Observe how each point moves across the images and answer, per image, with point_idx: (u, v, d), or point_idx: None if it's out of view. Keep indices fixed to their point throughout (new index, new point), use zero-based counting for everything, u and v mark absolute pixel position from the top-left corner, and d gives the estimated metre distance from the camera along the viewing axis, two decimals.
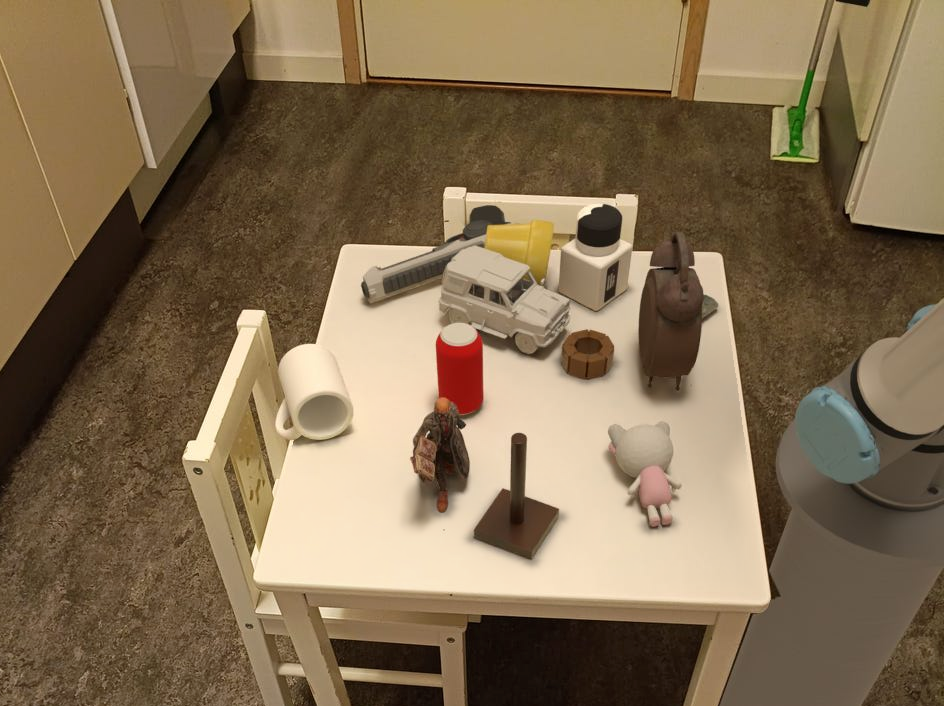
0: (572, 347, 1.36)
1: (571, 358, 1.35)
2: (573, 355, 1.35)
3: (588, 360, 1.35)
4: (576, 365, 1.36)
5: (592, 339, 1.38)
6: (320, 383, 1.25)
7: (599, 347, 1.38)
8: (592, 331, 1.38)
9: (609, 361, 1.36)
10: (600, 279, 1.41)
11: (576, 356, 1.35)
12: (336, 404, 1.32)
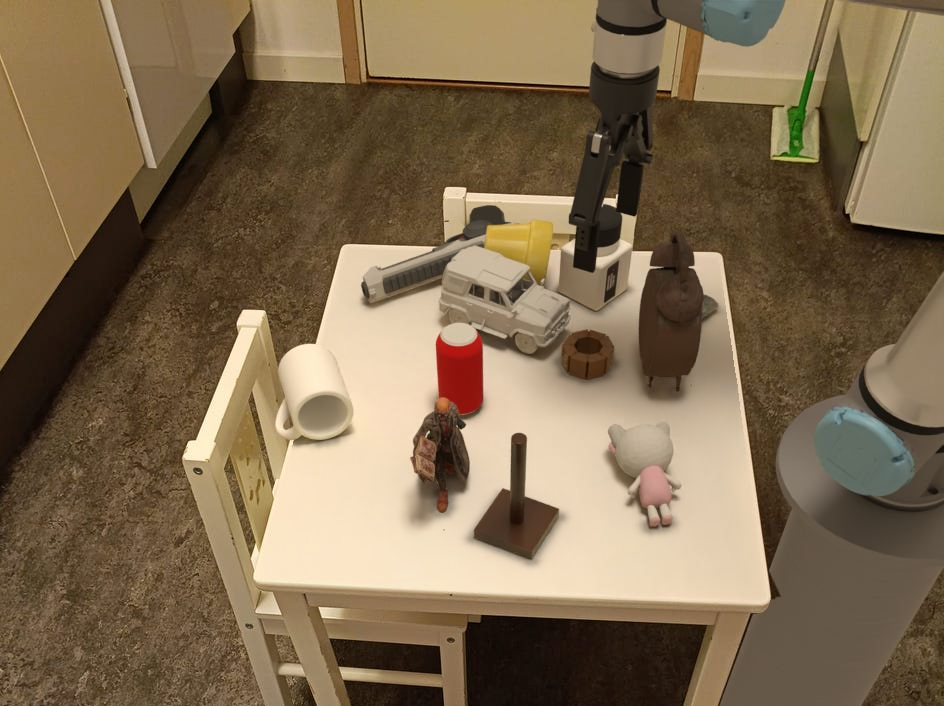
0: (572, 347, 1.36)
1: (571, 358, 1.35)
2: (573, 355, 1.35)
3: (588, 360, 1.35)
4: (576, 365, 1.36)
5: (592, 339, 1.38)
6: (320, 383, 1.25)
7: (599, 347, 1.38)
8: (592, 331, 1.38)
9: (609, 361, 1.36)
10: (600, 279, 1.41)
11: (576, 356, 1.35)
12: (336, 404, 1.32)
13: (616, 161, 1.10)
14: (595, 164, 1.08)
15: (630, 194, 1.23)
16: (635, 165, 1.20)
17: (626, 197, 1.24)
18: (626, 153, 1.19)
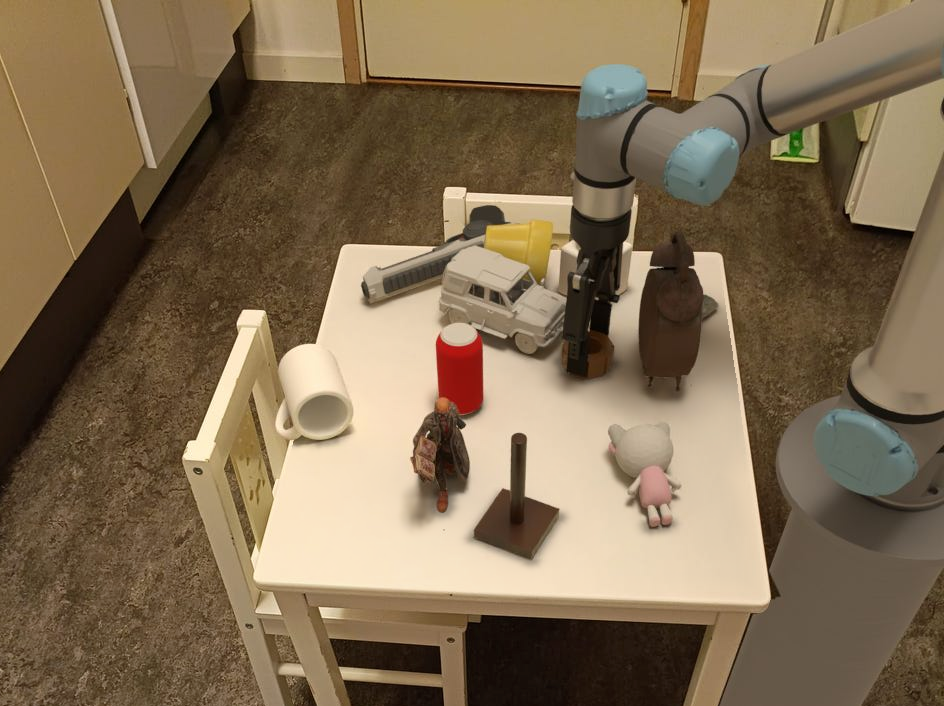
0: None
1: None
2: None
3: (588, 360, 1.35)
4: None
5: (592, 340, 1.38)
6: (320, 383, 1.25)
7: (599, 347, 1.38)
8: (592, 331, 1.38)
9: (609, 361, 1.36)
10: None
11: None
12: (336, 404, 1.32)
13: (597, 289, 1.25)
14: (578, 297, 1.23)
15: (600, 327, 1.37)
16: (604, 304, 1.34)
17: (597, 329, 1.38)
18: (597, 290, 1.33)
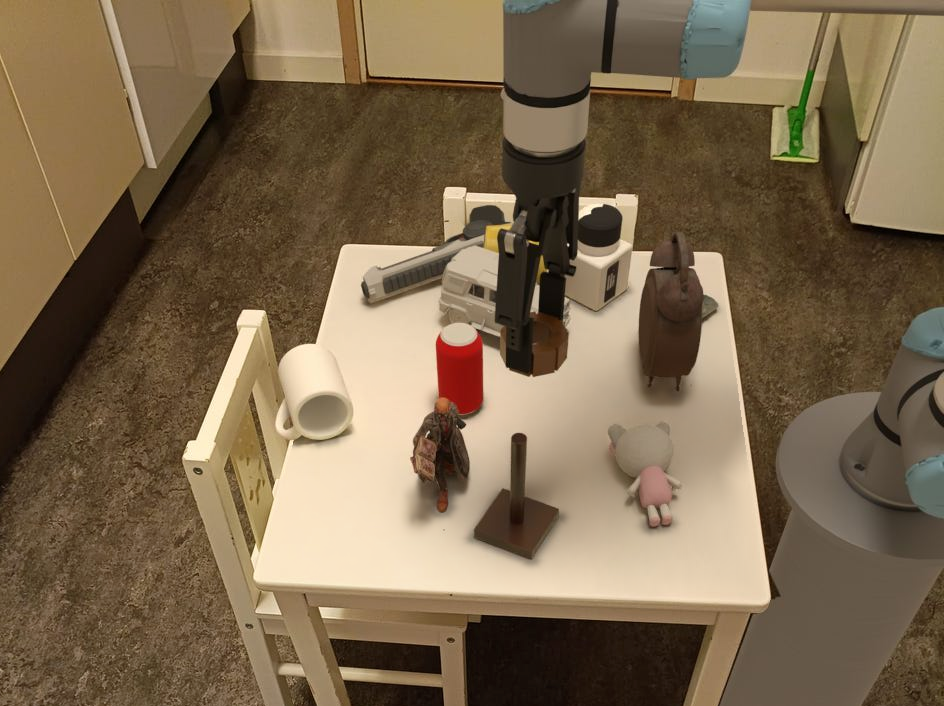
0: None
1: None
2: None
3: (533, 351, 1.02)
4: None
5: (541, 325, 1.05)
6: (320, 383, 1.25)
7: (550, 335, 1.05)
8: (541, 314, 1.05)
9: (562, 353, 1.03)
10: (600, 279, 1.41)
11: None
12: (336, 404, 1.32)
13: (540, 254, 0.92)
14: (513, 265, 0.90)
15: (552, 309, 1.04)
16: (556, 278, 1.01)
17: (548, 311, 1.05)
18: (546, 259, 1.00)
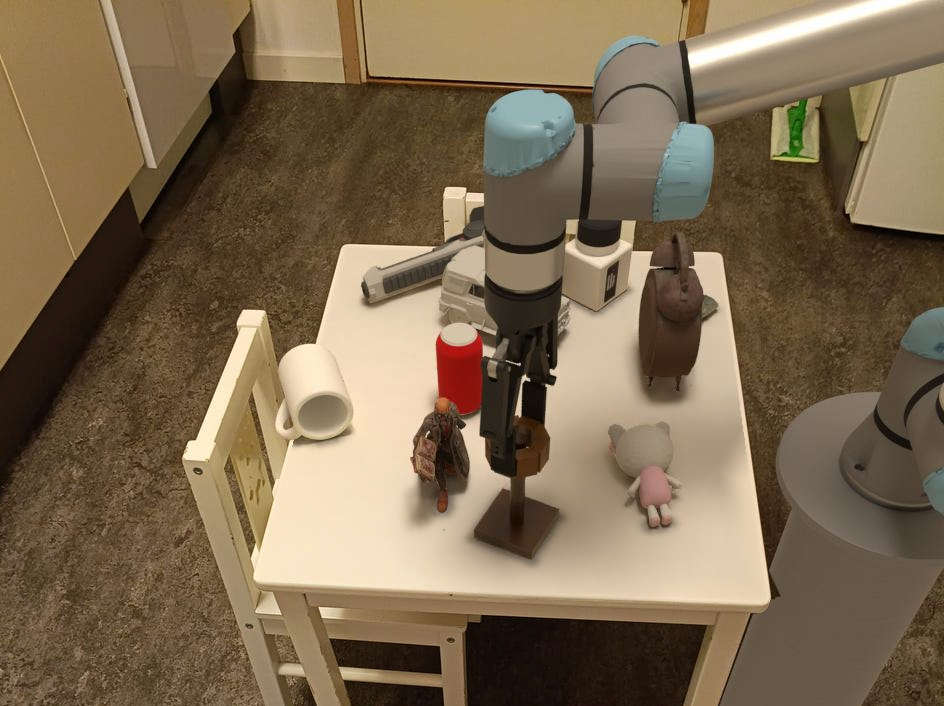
0: None
1: None
2: None
3: (516, 457, 1.07)
4: None
5: (523, 429, 1.10)
6: (320, 383, 1.25)
7: (532, 438, 1.10)
8: (524, 418, 1.10)
9: (544, 457, 1.09)
10: (600, 279, 1.41)
11: None
12: (336, 404, 1.32)
13: (522, 375, 0.97)
14: (496, 388, 0.95)
15: (534, 413, 1.10)
16: (537, 387, 1.07)
17: (531, 415, 1.10)
18: (527, 370, 1.06)
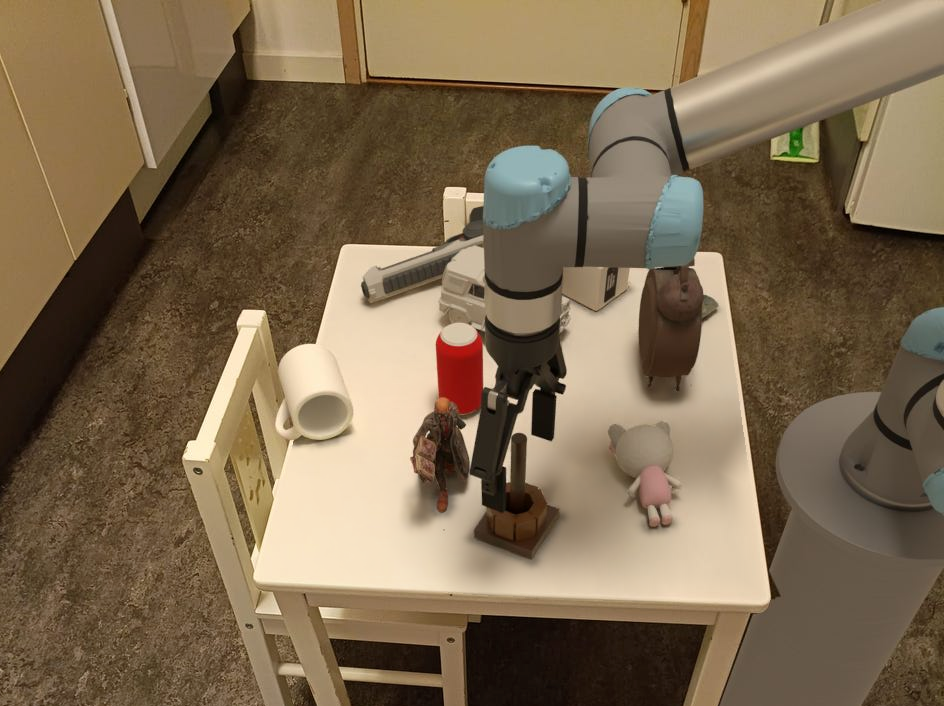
0: None
1: (496, 518, 1.16)
2: (499, 515, 1.16)
3: (515, 521, 1.15)
4: (502, 526, 1.16)
5: None
6: (320, 383, 1.25)
7: (530, 502, 1.18)
8: None
9: (541, 520, 1.17)
10: (600, 279, 1.41)
11: (502, 516, 1.16)
12: (336, 404, 1.32)
13: (518, 411, 1.00)
14: (493, 420, 0.98)
15: (544, 421, 1.14)
16: (547, 395, 1.11)
17: (541, 423, 1.14)
18: (536, 384, 1.10)
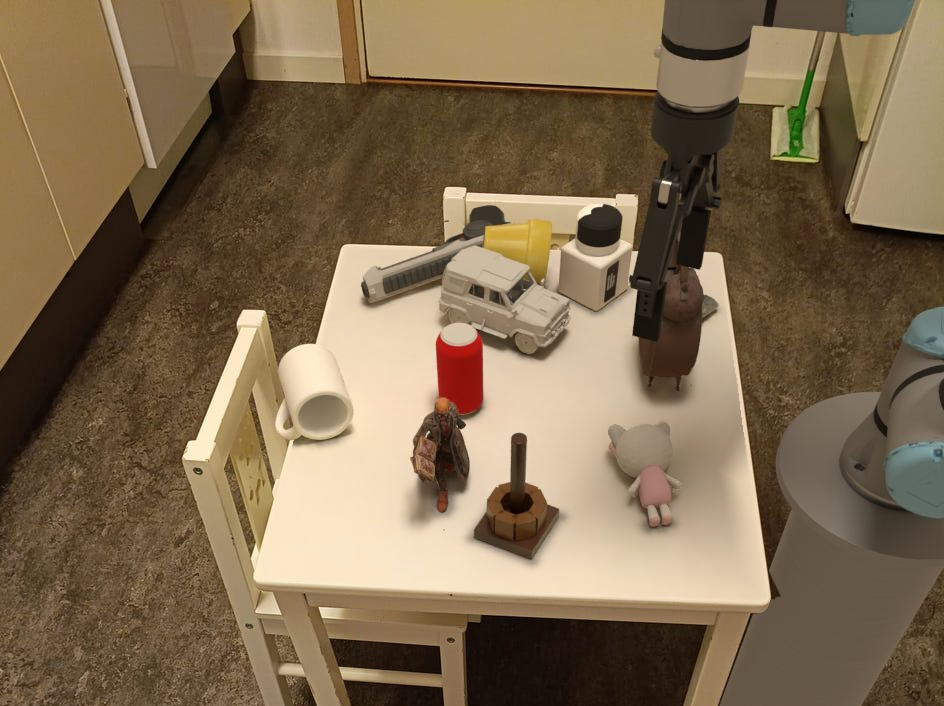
0: (498, 504, 1.17)
1: (496, 518, 1.16)
2: (499, 515, 1.16)
3: (515, 521, 1.15)
4: (502, 526, 1.16)
5: None
6: (320, 383, 1.25)
7: (530, 502, 1.18)
8: None
9: (541, 520, 1.17)
10: (600, 279, 1.41)
11: (502, 516, 1.16)
12: (336, 404, 1.32)
13: (686, 211, 0.90)
14: (663, 217, 0.88)
15: (694, 244, 1.04)
16: (700, 211, 1.01)
17: (689, 247, 1.04)
18: None
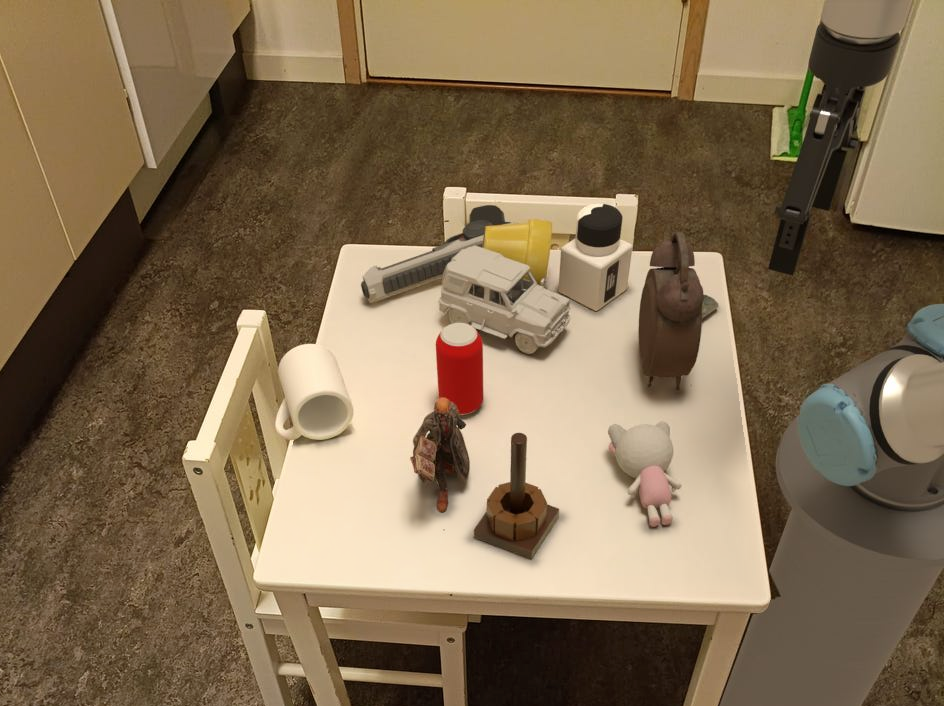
0: (498, 504, 1.17)
1: (496, 518, 1.16)
2: (499, 515, 1.16)
3: (515, 521, 1.15)
4: (502, 526, 1.16)
5: None
6: (320, 383, 1.25)
7: (530, 502, 1.18)
8: None
9: (541, 520, 1.17)
10: (600, 279, 1.41)
11: (502, 516, 1.16)
12: (336, 404, 1.32)
13: (837, 144, 0.93)
14: (818, 147, 0.91)
15: (826, 185, 1.07)
16: (837, 151, 1.04)
17: (821, 188, 1.07)
18: None
